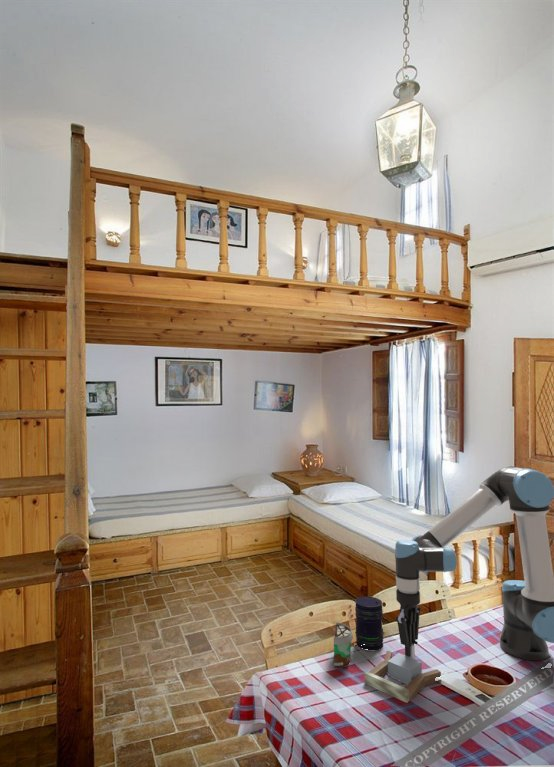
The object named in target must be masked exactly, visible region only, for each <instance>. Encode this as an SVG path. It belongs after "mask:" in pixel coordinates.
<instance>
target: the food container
mask: <svg viewBox="0 0 554 767" xmlns="http://www.w3.org/2000/svg"><path fill="white" fill-rule="evenodd" d="M353 640H354V634H353V631H352V628H351V626H349V625H347V624H345V623H342V622H335V632H334V636H333V663H334V665H333V667H334V669H342V668H341V667H343V668H345V666H346V667H348V666H349V665H350V664H349V663H351V655H352V654H351V653H352V651H351V650H352V641H353Z"/></svg>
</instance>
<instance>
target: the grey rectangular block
mask: <svg viewBox="0 0 554 767" xmlns="http://www.w3.org/2000/svg"><path fill="white" fill-rule="evenodd" d="M422 664H423V663H422V661H421V660H418V659H416V658H415V659H413V658H410V657H408V656H405V654H403V653H400V652H398V653H396V654H395V655H394V656H392V658H391V659H390V660H388V672H387V676H388V677H389V678H392V679H395V680H397V681H399V682H402V683H403V684H406V685H407V684H408V683H410V682H411V681H412V680H413V679H414V678H415V677H416V676H417V675H419V674H422V673H423V671H422V668H423V667H422Z"/></svg>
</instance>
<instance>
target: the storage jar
mask: <svg viewBox="0 0 554 767" xmlns="http://www.w3.org/2000/svg"><path fill="white" fill-rule="evenodd" d="M383 612H384V611H383V601H382V600H381V599H380V598H378V597H375V596H374V597H373V596H360V597H356V598H355V613H354V614H355V618H356V626H355V637H356V638H355V640H356V643H355V644H356V646H357V647H358V648H359V647H360V648H359V649H361V648H363V649H368V650H378V651H380V650H382V649H383V648H384V630H383V618H384V615H383ZM363 644H365V645H363ZM361 645H362V646H361ZM382 647H383V648H382ZM381 648H382V649H381ZM363 649H362V650H363ZM379 649H380V650H379Z"/></svg>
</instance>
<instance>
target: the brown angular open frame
mask: <svg viewBox="0 0 554 767" xmlns="http://www.w3.org/2000/svg"><path fill="white" fill-rule="evenodd" d="M392 657H393V656H392V651H391V650H390V651H389V650H386V653H385V656H384V660H383V661H381V662H380V663H378V664H377V665H376V666H374V667H373V668H372V669H370V670H369V671H367V670H366V671H365V672H364V673H363V674H364V684H365V685H367V686H369V687H371V688H373V689H376V690H378V691H380V692H382V693H384V694H386V695H388V696H391V697H392V698H395V699H398V700H400V701H401V702H404V703H406V704H408V702H410V701H411V700H412V699H413V698H414V697H415V696H416V695H417V694H418V693H419V692H420V691H421V690H423V688H424V687H425V686H427V685H430V684H434V683H437V682H436V681H435V678H436V677H440V676H441V677H442V673H441V671H440V670H439V669H438V668H436V669H432V670H430V671H426V672H422V674H419V675H417V676H416V677H415V678H414V679H413V680H412V681H411V682H410V683H408V684H406V685H405V686H402V685H399V684H397V683H395V682H393V681H390V680H388V679H386V678H383V677H384V676H385V675H386V674H388V660H390V659H391V658H392Z"/></svg>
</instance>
